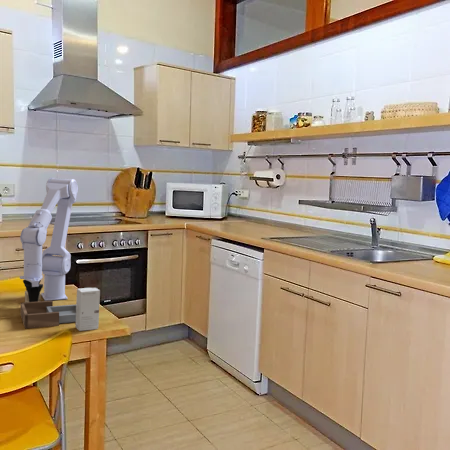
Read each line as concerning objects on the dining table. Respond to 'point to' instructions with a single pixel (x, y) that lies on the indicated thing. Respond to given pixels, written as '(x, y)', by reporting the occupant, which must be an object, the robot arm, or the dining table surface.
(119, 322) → the dining table surface
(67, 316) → the tray
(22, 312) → the dock
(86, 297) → the skincare box
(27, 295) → the birch block
